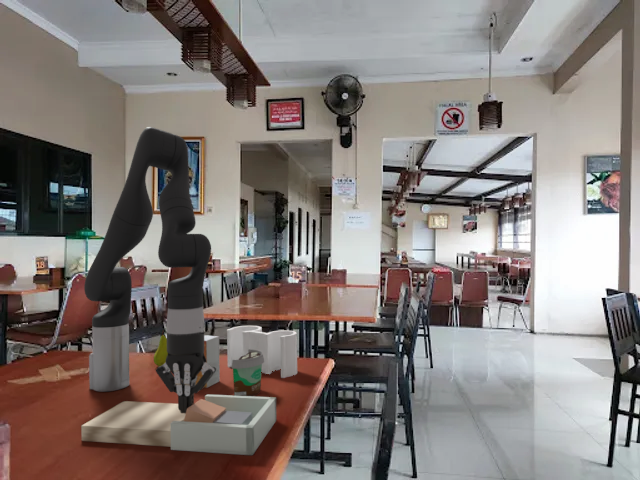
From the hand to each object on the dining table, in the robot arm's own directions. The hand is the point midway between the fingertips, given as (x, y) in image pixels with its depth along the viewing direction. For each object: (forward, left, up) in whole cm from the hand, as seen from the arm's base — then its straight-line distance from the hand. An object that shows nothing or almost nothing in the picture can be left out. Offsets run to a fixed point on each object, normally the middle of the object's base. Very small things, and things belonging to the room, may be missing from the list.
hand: (186, 412), depth 92 cm
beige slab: (-9, 0, -4) cm, 10 cm away
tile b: (+10, 0, -4) cm, 11 cm away
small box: (-11, +31, -4) cm, 33 cm away
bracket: (+2, +47, -4) cm, 48 cm away
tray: (+9, 0, -4) cm, 10 cm away
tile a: (+4, 0, -2) cm, 4 cm away
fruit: (-31, +46, -4) cm, 56 cm away
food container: (+6, +25, -4) cm, 26 cm away
